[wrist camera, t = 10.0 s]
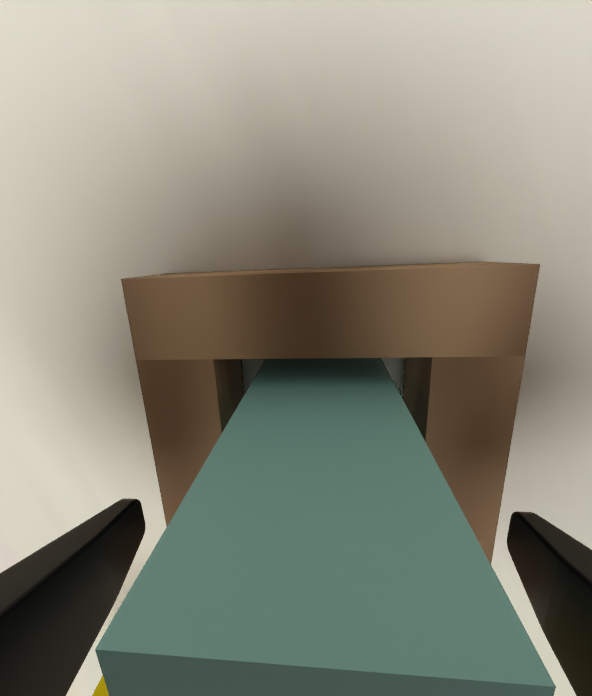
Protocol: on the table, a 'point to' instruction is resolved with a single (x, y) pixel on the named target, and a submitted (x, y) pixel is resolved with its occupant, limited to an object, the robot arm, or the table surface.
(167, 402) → the socket block
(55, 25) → the table surface
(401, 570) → the teal peg
